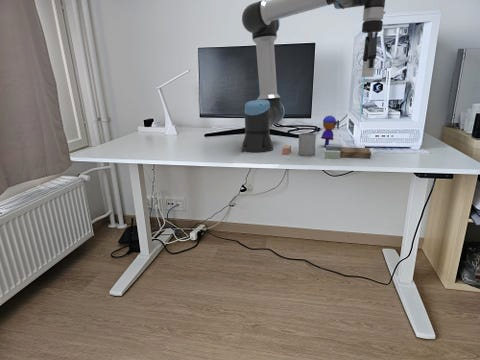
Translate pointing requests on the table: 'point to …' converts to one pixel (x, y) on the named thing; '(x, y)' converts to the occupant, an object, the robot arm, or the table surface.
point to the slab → (355, 152)
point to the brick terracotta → (286, 150)
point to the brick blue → (333, 147)
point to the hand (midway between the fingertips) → (367, 77)
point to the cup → (307, 144)
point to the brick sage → (332, 154)
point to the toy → (329, 128)
